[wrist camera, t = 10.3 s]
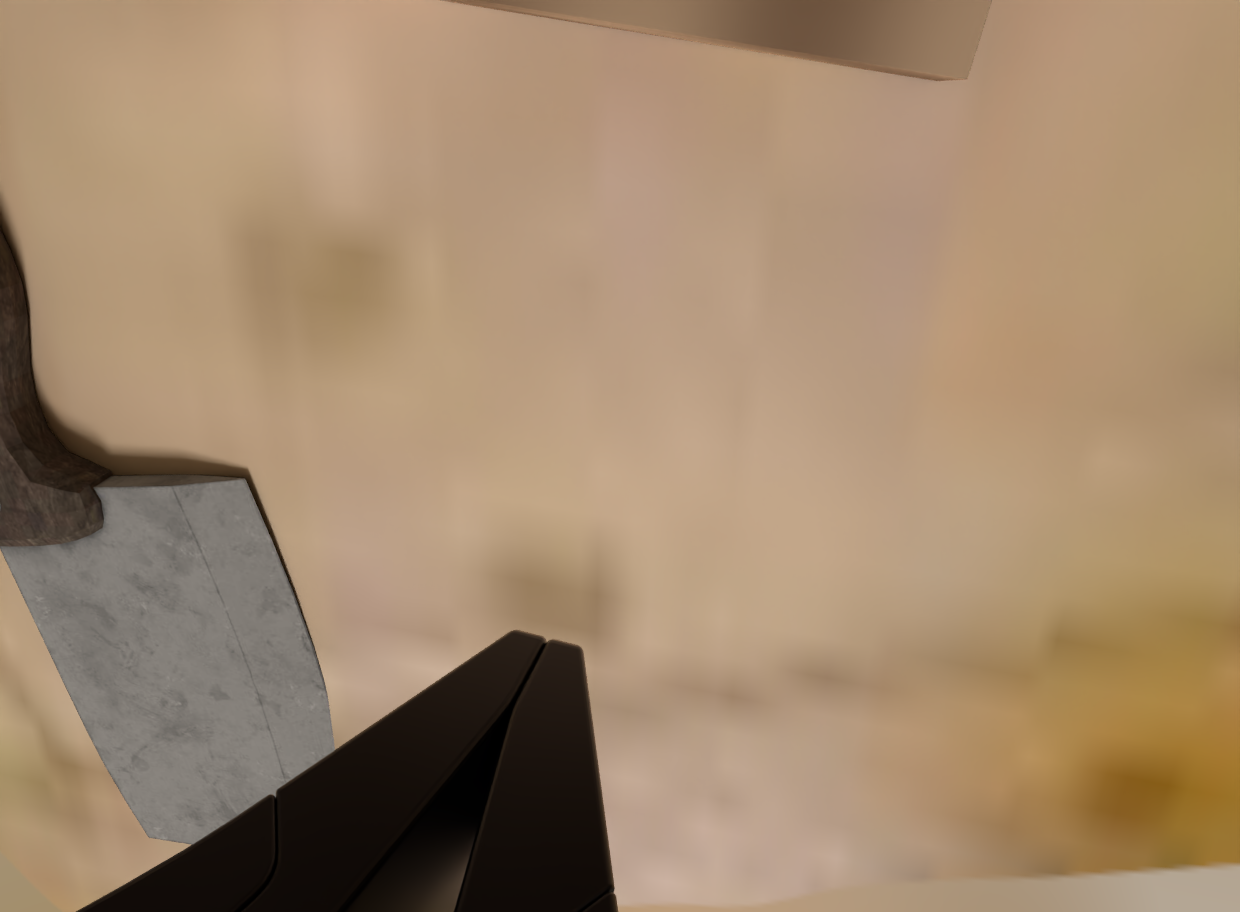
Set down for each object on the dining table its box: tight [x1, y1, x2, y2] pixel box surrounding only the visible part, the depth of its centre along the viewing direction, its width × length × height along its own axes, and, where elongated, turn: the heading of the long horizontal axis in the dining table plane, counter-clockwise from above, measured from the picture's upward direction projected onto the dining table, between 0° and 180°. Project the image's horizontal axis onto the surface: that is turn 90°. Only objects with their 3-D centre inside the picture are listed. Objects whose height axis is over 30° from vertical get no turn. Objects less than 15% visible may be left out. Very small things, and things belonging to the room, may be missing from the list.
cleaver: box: [0, 229, 335, 845], centre depth 24 cm, size 29×10×2 cm, turn 6°
